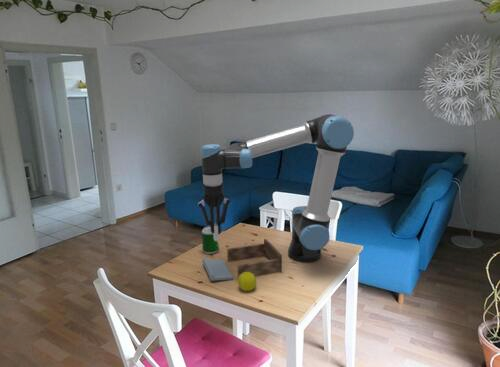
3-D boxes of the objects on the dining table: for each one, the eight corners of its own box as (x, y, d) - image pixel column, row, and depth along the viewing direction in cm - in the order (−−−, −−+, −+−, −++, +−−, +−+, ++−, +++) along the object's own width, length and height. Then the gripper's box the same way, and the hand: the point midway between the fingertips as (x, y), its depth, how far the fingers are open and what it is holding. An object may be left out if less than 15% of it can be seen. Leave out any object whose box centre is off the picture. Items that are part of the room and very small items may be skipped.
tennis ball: (240, 295, 137) (240, 278, 135) (236, 286, 144) (235, 270, 142) (258, 292, 139) (258, 275, 137) (253, 283, 146) (253, 267, 144)
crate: (266, 255, 171) (266, 238, 169) (281, 272, 154) (281, 255, 152) (227, 261, 165) (226, 244, 163) (238, 280, 148) (238, 261, 146)
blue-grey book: (223, 256, 163) (203, 257, 160) (233, 274, 148) (211, 275, 145) (222, 261, 164) (202, 262, 161) (233, 279, 148) (211, 280, 145)
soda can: (216, 256, 170) (215, 231, 167) (200, 255, 172) (199, 230, 169) (220, 249, 177) (219, 226, 175) (205, 248, 179) (204, 225, 176)
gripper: (226, 180, 151) (229, 234, 156) (194, 183, 147) (198, 238, 153) (231, 184, 144) (233, 240, 149) (198, 188, 140) (202, 245, 146)
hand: (216, 239), depth 151 cm, fingers closed
